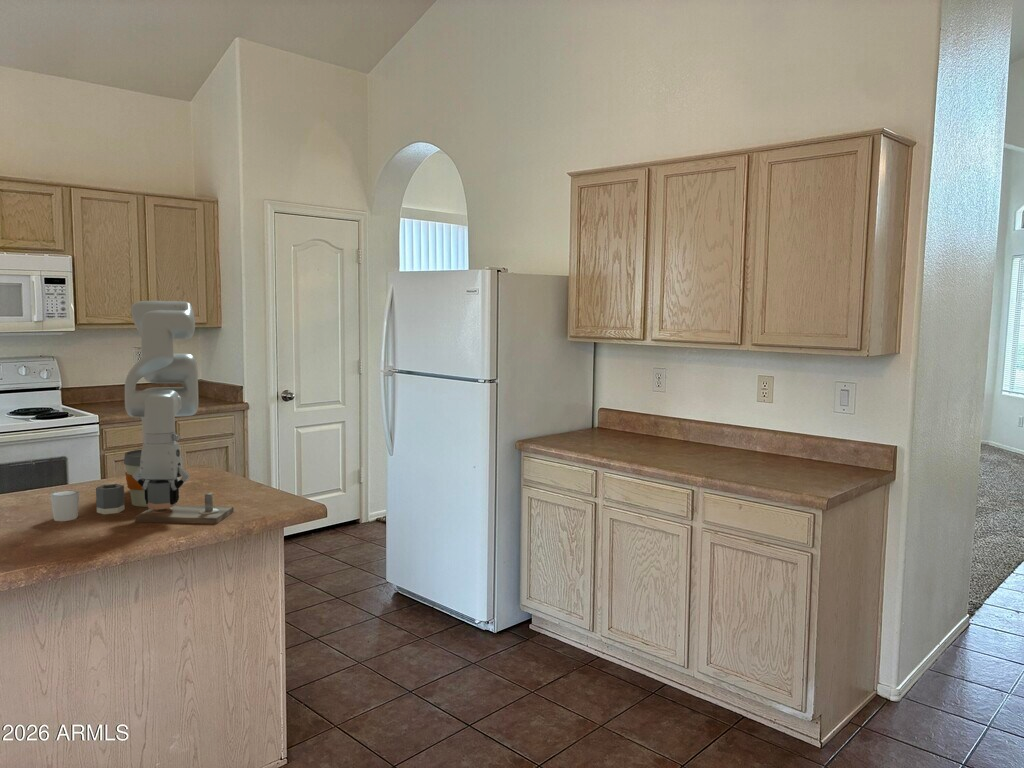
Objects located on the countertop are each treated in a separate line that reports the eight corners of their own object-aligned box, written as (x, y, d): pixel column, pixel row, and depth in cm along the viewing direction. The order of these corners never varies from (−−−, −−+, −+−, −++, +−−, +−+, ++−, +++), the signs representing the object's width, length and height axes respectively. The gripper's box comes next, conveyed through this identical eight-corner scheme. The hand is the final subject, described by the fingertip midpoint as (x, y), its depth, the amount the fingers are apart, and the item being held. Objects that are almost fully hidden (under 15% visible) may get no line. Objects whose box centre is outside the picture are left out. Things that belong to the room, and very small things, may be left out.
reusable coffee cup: (120, 509, 218) (119, 457, 216) (130, 498, 230) (128, 449, 228) (168, 506, 221) (167, 455, 220) (175, 496, 233) (174, 447, 232)
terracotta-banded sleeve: (157, 502, 215) (156, 478, 214) (178, 503, 214) (177, 478, 214) (144, 509, 208) (144, 484, 207) (167, 509, 208) (166, 484, 207)
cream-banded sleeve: (106, 507, 219) (105, 483, 218) (127, 508, 219) (126, 484, 218) (93, 514, 212) (92, 489, 211) (114, 514, 212) (114, 489, 211)
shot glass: (53, 516, 210) (52, 491, 209) (82, 514, 212) (81, 489, 211) (48, 522, 203) (47, 496, 203) (77, 520, 206) (76, 495, 205)
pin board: (156, 510, 217) (155, 487, 217) (233, 511, 217) (233, 489, 217) (135, 521, 205) (134, 498, 205) (216, 523, 205) (216, 500, 205)
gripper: (197, 436, 213) (198, 500, 215) (135, 435, 213) (137, 499, 215) (185, 441, 205) (187, 507, 207) (121, 440, 206) (123, 505, 207)
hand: (161, 502), depth 211 cm, fingers closed on terracotta-banded sleeve, 6 cm apart
